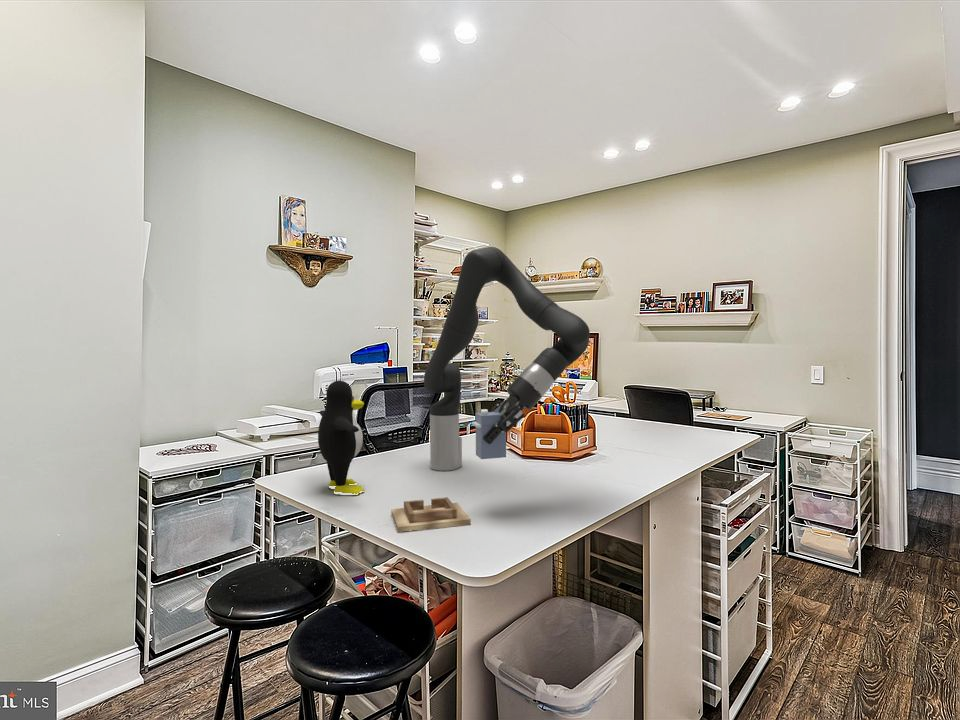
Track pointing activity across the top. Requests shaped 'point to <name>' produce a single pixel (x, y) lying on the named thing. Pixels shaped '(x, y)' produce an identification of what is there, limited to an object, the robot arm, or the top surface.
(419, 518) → the wooden fixture board
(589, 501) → the top surface
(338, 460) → the toy
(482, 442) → the servo block
